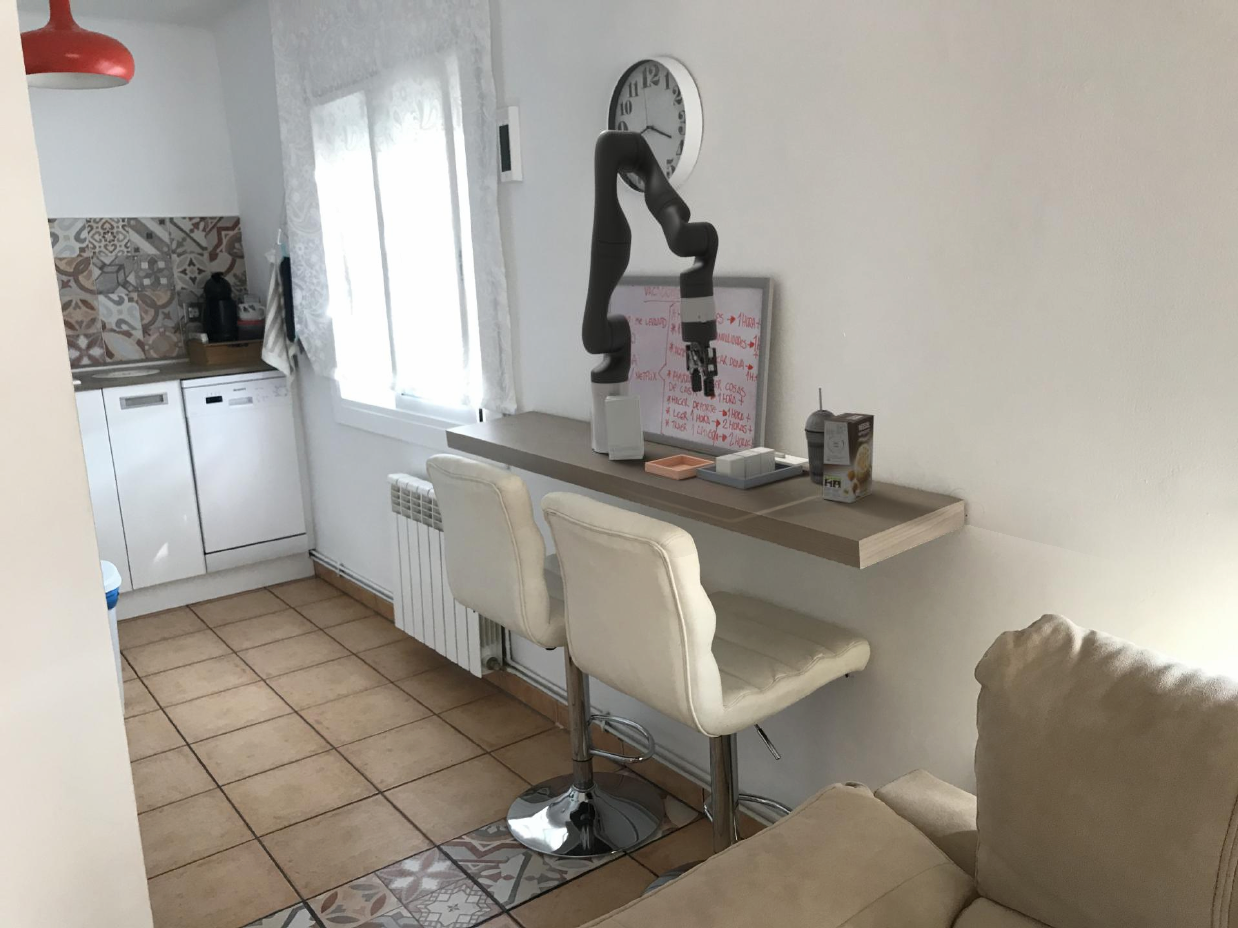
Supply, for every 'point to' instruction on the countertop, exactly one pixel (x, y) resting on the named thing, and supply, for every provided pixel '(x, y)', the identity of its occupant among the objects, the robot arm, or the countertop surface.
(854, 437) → the coffee box
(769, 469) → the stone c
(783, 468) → the blue-grey shallow rectangular tray
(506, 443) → the countertop surface
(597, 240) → the robot arm
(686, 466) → the orange square tray
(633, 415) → the skincare box
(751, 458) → the white cuboid
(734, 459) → the white block
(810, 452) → the beverage cup
